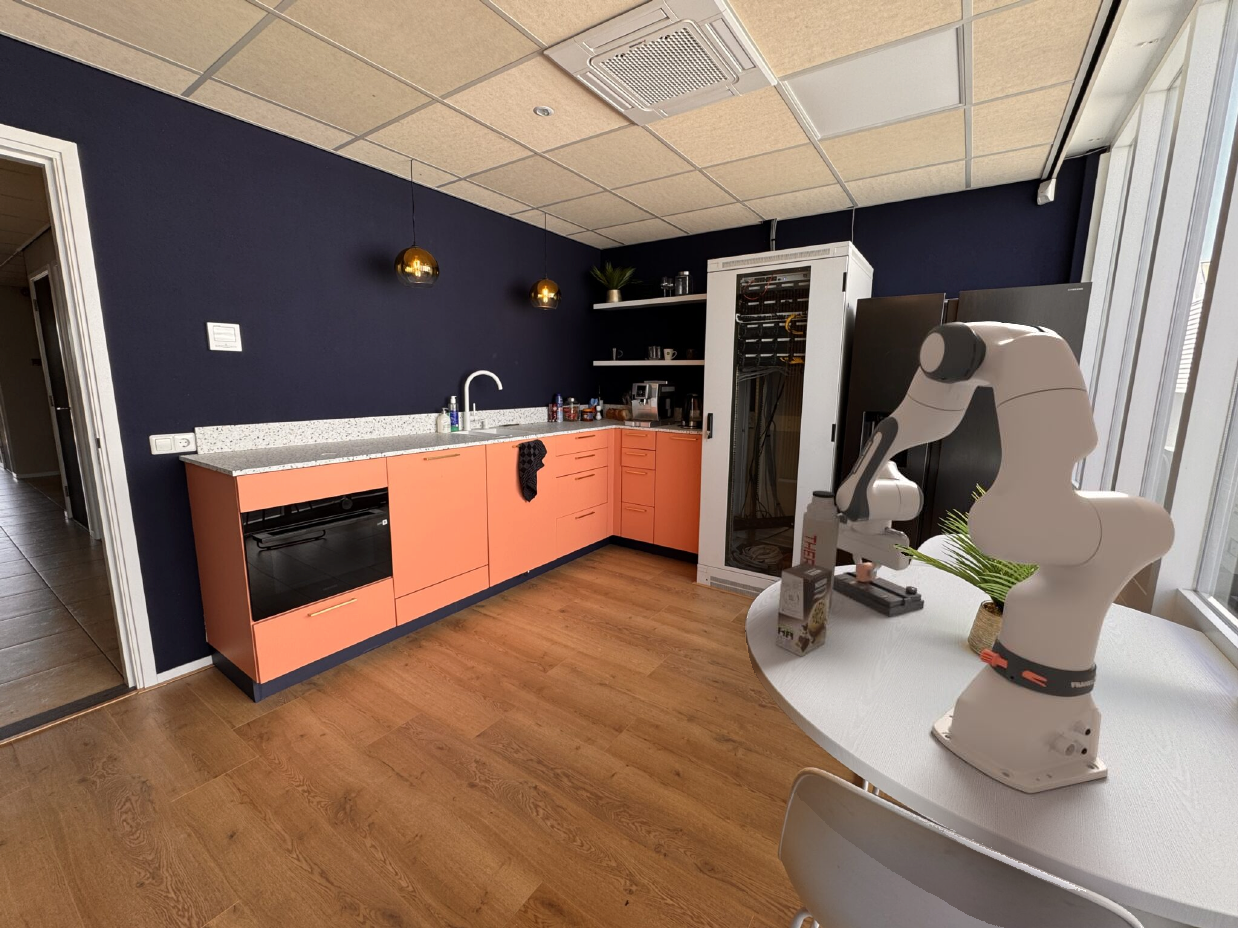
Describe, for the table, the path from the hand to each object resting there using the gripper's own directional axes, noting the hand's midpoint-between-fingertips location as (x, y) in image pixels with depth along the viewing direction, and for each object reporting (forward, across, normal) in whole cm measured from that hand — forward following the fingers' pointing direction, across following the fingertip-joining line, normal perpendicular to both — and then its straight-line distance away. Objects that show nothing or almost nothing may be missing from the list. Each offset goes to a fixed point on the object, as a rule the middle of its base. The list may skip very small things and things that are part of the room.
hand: (865, 574), depth 130 cm
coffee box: (+5, -13, +34) cm, 37 cm away
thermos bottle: (+5, 0, +17) cm, 18 cm away
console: (+5, -3, 0) cm, 6 cm away
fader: (+3, 0, 0) cm, 3 cm away
